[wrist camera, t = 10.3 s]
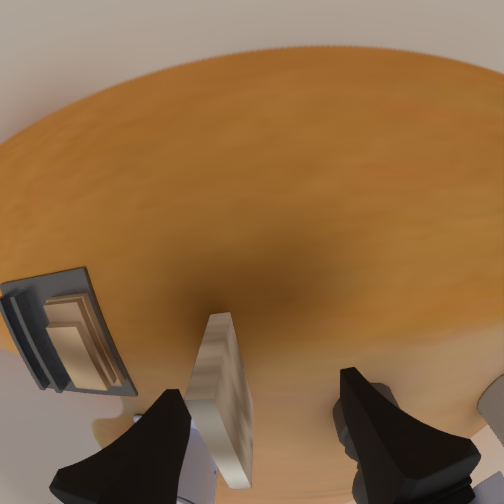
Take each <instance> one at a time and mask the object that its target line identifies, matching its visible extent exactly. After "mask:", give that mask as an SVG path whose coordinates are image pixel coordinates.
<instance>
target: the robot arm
mask: <svg viewBox="0 0 504 504" xmlns="http://www.w3.org/2000/svg"><path fill="white" fill-rule="evenodd" d="M340 403H341V407H342V412H343V416H344V420H345V422H346V425H347V428H348V431H349V433H350V436H351V439H352V441H353V444H354V447H355V449H356V452H357V455H358V458H359V461H360V464H361V469H362V473H363V478H364V482H365V487H366V492H367V498H368V504H504V477H503V475H502V473H501V472H500V471H498V472H497V473H495V474H494V475H492V476H490V477H489V478H488V479H486V480H484V481H483V482H481V483H479V484H478V485H477V486H475V487H474V488H473V489H472V488H471V486H470V484H471V483H472V479H471V477H470V474H471V473H472V471H473V470H474V469H475V467H476V466H477V465H478V463H479V461H480V459H481V454H480V453H479V451H478V449H477V448H476V446H475V445H474V444H473V442H472V441H471V440H470V439H467V438H463V437H459V436H455V435H451V434H448V433H446V432H443V431H440V430H437V429H435V428H433V427H431V426H429V425H427V424H424V423H422V422H420V421H419V420H417V419H415V418H413V417H412V416H410V415H408V414H407V413H405V412H404V411H402V410H401V409H400V408H398V407H397V406H395V405H394V404H393V403H392V402H390V401H389V400H388V399H387V398H385V397H384V396H383V395H382V394H381V393H380V392H379V391H378V390H376V389H375V388H374V387H373V386H372V385H371V384H370V383H369V382H368V381H367V380H366V379H365V378H364V377H363V376H362V374H361V373H360V372H359V371H358V370H357V369H356V368H355V367H350V368H346V369H341V370H340ZM133 420H134V422H135V424H134V425H133V426H132V427H131V428H130V429H128V430H127V431H126V432H125V433H124V434H123V435H122V436H120V437H119V438H118V439H117V440H115V441H114V442H113V443H111V444H110V445H108V446H107V447H105V448H104V449H102V450H101V451H99V452H98V453H96V454H94V455H92V456H90V457H88V458H86V459H85V460H82V461H80V462H78V463H75V464H73V465H70V466H67V467H64V468H61V469H59V470H58V471H57V473H56V475H55V477H54V479H53V481H52V483H51V485H50V486H49V489H50V491H51V492H52V494H53V495H55V496H56V497H57V498H58V499H59V500H60V501H62V502H63V503H64V504H214V500H215V491H216V483H217V475H218V467H217V465H216V463H215V461H214V459H213V458H212V456H211V454H210V452H209V450H208V448H207V446H206V445H205V443H204V441H203V439H202V437H201V435H200V433H199V431H198V429H197V427H196V425H195V423H194V421H193V419H192V417H191V415H190V413H189V411H188V409H187V407H186V405H185V403H184V400H183V398H182V396H181V394H180V392H179V389H166V390H165V391H164V392H163V394H162V395H161V396H160V397H159V398H158V399H157V400H156V401H155V403H154V404H153V405H152V406H151V407H150V408H149V409H148V410H147V411H146V412H145V414H144V415H143V416H139V415H135V416H134V417H133Z"/></svg>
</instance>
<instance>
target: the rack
mask: <svg viewBox="0 0 504 504" xmlns="http://www.w3.org/2000/svg"><path fill="white" fill-rule="evenodd" d="M0 288H1V291H2V294H3V295H2V296H1V297H0V311H1V314H2V316H3V319H4V321H5V323H6V325H7V328H8V330H9V332H10V334H11V337H12V339H13V341H14V343H15V345H16V347H17V349H18V351H19V353H20V355H21V357H22V359H23V360H24V362H25V364H26V366H27V368H28V370H29V371H30V373H31V375H32V376H33V378H34V380H35V382H36V383H37V385H38V387H39V388H40V389H41V390H45V389H46V388H53V389H55V391H56V392H57V393H62V392H63V390H66V391H74V392H83V393H92V394H103V395H117V396H137V395H138V393H137V391H136V389H135V387H134V385H133V383H132V381H131V379H130V377H129V375H128V373H127V371H126V369H125V367H124V364H123V362H122V360H121V358H120V356H119V354H118V351H117V349H116V347H115V345H114V342H113V340H112V338H111V335H110V333H109V330H108V328H107V325H106V323H105V320H104V318H103V315H102V313H101V310H100V307H99V305H98V302H97V299H96V296H95V293H94V291H93V288H92V285H91V282H90V279H89V276H88V272H87V269H86V267H82V268H77V269H72V270H67V271H61V272H56V273H51V274H46V275H41V276H36V277H31V278H26V279H21V280H16V281H12V282H7V283H2V284H0ZM80 293H88V296H89V299H90V301H91V304H92V307H93V309H94V312H95V315H96V317H97V320H98V322H99V325H100V327H101V330H102V332H103V334H104V337H105V339H106V341H107V344H108V346H109V348H110V350H111V353H112V355H113V357H114V359H115V361H116V363H117V365H118V367H119V370H120V372H121V374H122V376H123V378H124V380H125V382H124V384H123V386H110V387H109V389H108V391H107V390H94V389H83V388H76V386H75V385H74V383H73V381H72V380H71V378H70V376H69V374H68V372H67V371H66V369H65V367H64V365H63V363H62V361H61V359H60V357H59V355H58V353H57V351H56V349H55V347H54V345H53V343H52V341H51V339H50V337H49V334H48V332H47V330H46V327H47V326H48V325H50V321H49V319H48V316H47V314H46V312H45V309H44V307H43V305H45V304H46V300H48V299H49V298H50V297H57V296H65V295H73V294H80Z"/></svg>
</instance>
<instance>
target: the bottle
mask: <svg viewBox="0 0 504 504" xmlns="http://www.w3.org/2000/svg"><path fill="white" fill-rule="evenodd" d="M477 409H478V411H479V412H480V413H481V415H482V416H483V418H484V419H485V421H486V422H487V423H488V425H489V426H490V428H491V429H492V430H493V432H494V433H495V435H496V436H497V438H498V439H499V441H500V442H501V444H502V445H503V447H504V375H502V376H500V377H499V378H497V379H496V380H495V381H494V382H493V383H492V384H491V385H490V386H489V387H488V388H487V389H486V391H485V392H484V394H483V395H482V396H481V398H480V400H479V402H478V405H477Z"/></svg>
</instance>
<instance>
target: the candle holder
mask: <svg viewBox="0 0 504 504" xmlns="http://www.w3.org/2000/svg"><path fill="white" fill-rule="evenodd" d="M370 384H371V385H372V386H373V387H374V388H375V389H376V390H378V391H379V392H380V393H381V394H382V395H383V396H384V397H385V398H387V399H388V400H389V401H390V402H392V403H393V404H394V405H395V406H397V407H398V408H399V406H398V404H397V402H396V400H395V398H394V396H393V394H392V392H391V390H390V388H389V387H388V386H386V385H384V384H381V383H370ZM333 418H334V422H335V426H336V430H337V434H338V437H339V441H340V442H341V444H342V445H343V446H344V447H345V453H346V454H347V455H348V456H349V457H350V458H351V459H354V460H355V461H356V462H358V464H357V469H358V471H357V473H356V475H355V478H354V481H353V487H352V494H353V498H354V500H355V501H356V503H357V504H368V498H367V492H366V487H365V482H364V478H363V473H362V469H361V464H360V461H359V458H358V455H357V452H356V449H355V447H354V444H353V441H352V439H351V436H350V433H349V431H348V428H347V425H346V422H345V420H344V416H343V412H342V407H341V403H340V399H339V400H338V401H337V403H336V405H335V407H334V409H333Z"/></svg>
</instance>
